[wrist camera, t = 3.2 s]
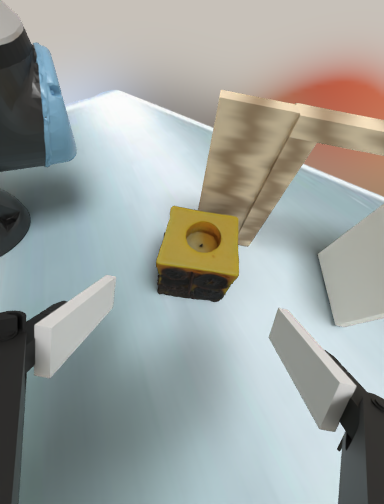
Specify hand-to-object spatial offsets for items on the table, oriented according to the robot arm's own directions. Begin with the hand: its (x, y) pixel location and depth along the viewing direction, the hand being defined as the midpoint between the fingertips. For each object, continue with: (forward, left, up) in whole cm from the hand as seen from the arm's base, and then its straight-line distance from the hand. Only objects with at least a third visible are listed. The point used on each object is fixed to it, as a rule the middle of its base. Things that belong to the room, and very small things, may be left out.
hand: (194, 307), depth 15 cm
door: (+14, +24, -14) cm, 31 cm away
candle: (-6, +9, -15) cm, 18 cm away
